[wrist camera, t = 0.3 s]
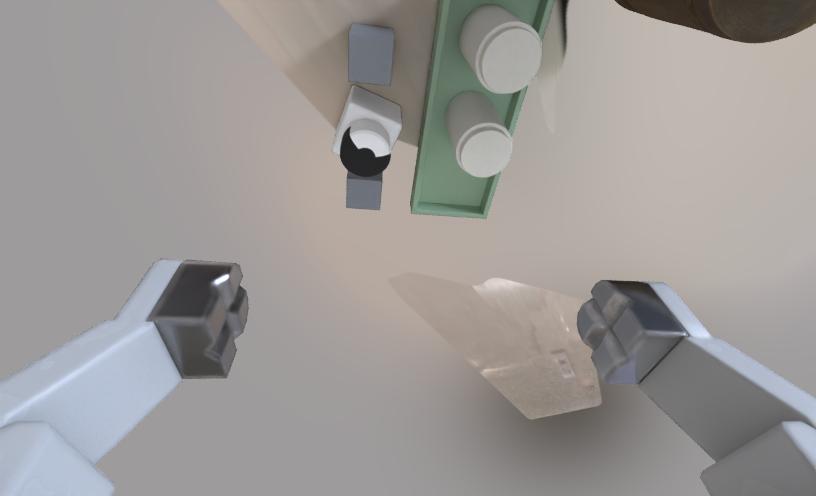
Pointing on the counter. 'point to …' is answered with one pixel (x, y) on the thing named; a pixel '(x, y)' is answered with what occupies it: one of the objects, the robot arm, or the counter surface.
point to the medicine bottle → (367, 132)
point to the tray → (449, 76)
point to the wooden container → (732, 16)
